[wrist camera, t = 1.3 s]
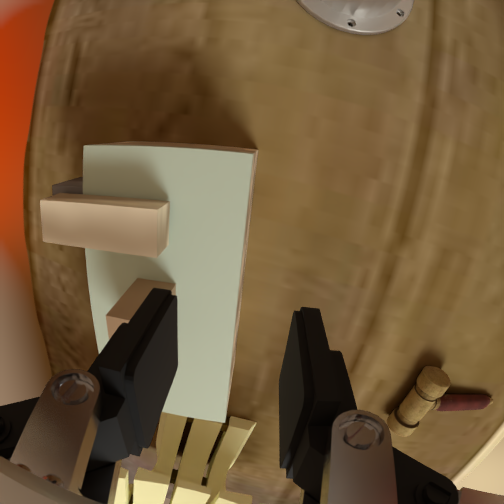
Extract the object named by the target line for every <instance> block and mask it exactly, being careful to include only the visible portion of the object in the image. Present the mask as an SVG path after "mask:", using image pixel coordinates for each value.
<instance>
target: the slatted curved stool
mask: <svg viewBox="0 0 504 504" xmlns="http://www.w3.org/2000/svg"><path fill="white" fill-rule="evenodd" d="M186 421H187V422H190V423H192V426H191V429H190V432H189V435H188V438H187V442H186V445H185V448H184V451H183V455H182V458H181V462H180V465H179V469H178V470H175V469H173V466H174V462H175V459H176V455H177V452H178V448H179V444H180V441H181V437H182V434H183V430H184V427H185V423H186ZM256 423H257V422H254V421H250V420H246V419H241V418H237V417H233V416H231V417H230V419H228V418H226V420H225V423H222V422H215V421H209V420H203V419H197V418H191V417H185V416H180V415H175V414H170V413H165V412H162V413H161V416H160V422H159V427H158V433H157V439H156V450H157V459H158V461H157V463H156V465H155V467H154V468H153V470H152V471H149V470H146V469H143V468H140V467H138V470H137V473H136V475H135V478H134V484H129V483H128V470H126V469H124V468H120V473H119V479H118V484H117V490H116V495H115V501H114V504H163V503H164V500H165V497H166V493H167V490H168V486H169V482H170V483H173V484H174V488H173V492H172V496H171V500H170V504H252V495H246V494H240V493H234V492H229V491H226V487H225V480H226V475H227V472H228V470H229V469H230V467H231V466H232V465H233V464H234V462H235V460H236V459H237V457H238V455H239V453H240V452H241V450H242V448H243V446H244V445H245V443H246V441H247V439H248V438H249V436H250V434H251V432H252V430H253V429H254V427H255V425H256ZM219 431H224V432H223V434H222V437H221V439H220V441H219V443H218V445H217V448H216V450H215V452H214V454H213V456H212V459H211V461H210V464H209V467H208V470H207V474H206V478H205V477H203V474H204V470H205V467H206V464H207V461H208V458H209V456H210V453H211V450H212V448H213V445H214V443H215V441H216V438H217V436H218V433H219ZM260 504H262V503H260Z"/></svg>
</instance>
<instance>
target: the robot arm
mask: <svg viewBox="0 0 504 504" xmlns="http://www.w3.org/2000/svg"><path fill="white" fill-rule="evenodd" d="M297 2H298V3H299V4H300V5H301V6H302V7H303V8H304V9H305V10H306V11H307V12H308V13H309V14H311V15H312V16H313V17H315V18H316V19H317V20H319V21H321V22H323V23H324V24H326V25H328V26H331V27H333V28H335V29H338V30H341V31H345V32H348V33H352V34H361V35H373V34H380V33H384V32H387V31H390V30H392V29H394V28H396V27H397V26H398V25H400V24H401V23H402V22H403V21H404V20H405V19H406V18H407V17H408V16H409V14H410V12H411V10H412V6H413V2H414V0H297ZM348 24H351V25H352V27H351V26H349V25H348ZM177 368H178V300H177V296H176V295H172V291H171V290H167V289H160V288H153V289H152V290H151V291H150V293H149V294H148V296H147V297H146V298H145V300H144V301H143V302H142V304H141V305H140V307H139V308H138V309H137V311H136V312H135V314H134V315H133V317H132V318H131V319H130V321H129V322H128V323H125V322H124V323H122V324H121V325H120V326H119V327H118V328H117V330H116V331H115V333H114V334H113V335H112V337H111V338H110V340H109V341H108V342H107V344H106V345H105V347H104V348H103V349H102V351H101V352H100V354H99V355H98V357H97V358H96V359H95V361H94V362H93V364H92V365H91V367H90V368H89V370H88V371H84V370H80V369H70V370H64V371H62V372H59V373H57V374H56V375H54V376H53V377H51V379H50V380H49V381H48V383H47V384H46V386H45V388H44V390H43V392H42V394H41V396H40V397H36V398H32V399H28V400H24V401H21V402H16V403H12V404H8V405H4V406H0V504H114V501H115V495H116V490H117V484H118V479H119V473H120V468H121V459H124V458H127V457H129V455H130V454H132V455H136V456H140V454H141V451H142V448H149V446H150V443H151V441H152V438H153V435H154V432H155V429H156V427H157V424H158V421H159V418H160V416H161V413H162V410H163V407H164V405H165V402H166V399H167V396H168V394H169V391H170V388H171V385H172V383H173V380H174V377H175V375H176V372H177ZM279 434H280V468H286V478H291V479H293V482H294V483H295V484H297V485H298V486H299V487H301V488H302V489H301V493H300V500H299V504H504V496H502V495H496V494H492V493H487V492H482V491H477V490H473V489H469V488H464V487H463V488H461V489H460V490H457V488H456V486H455V485H454V484H453V482H452V481H451V480H449V479H448V478H447V477H445V476H443V475H442V474H440V473H438V472H436V471H434V470H432V469H431V468H429V467H427V466H425V465H423V464H422V463H420V462H418V461H416V460H415V459H413V458H411V457H409V456H408V455H406V454H404V453H402V452H401V451H399V450H397V449H396V448H394V447H392V440H391V433H390V430H389V427H388V425H387V424H386V423H385V421H384V420H383V419H381V418H380V417H379V416H377V415H375V414H373V413H371V412H368V411H364V410H357V406H356V403H355V399H354V395H353V391H352V388H351V384H350V380H349V377H348V373H347V369H346V366H345V362H344V359H343V355H342V353H341V352H340V351H333V350H330V349H329V345H328V341H327V337H326V333H325V329H324V325H323V321H322V317H321V313H320V310H319V309H318V308H308V307H301V309H300V311H294V312H293V316H292V321H291V326H290V331H289V336H288V341H287V346H286V350H285V355H284V360H283V364H282V369H281V373H280V379H279Z"/></svg>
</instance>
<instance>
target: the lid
mask: <svg viewBox="0 0 504 504" xmlns="http://www.w3.org/2000/svg"><path fill="white" fill-rule="evenodd" d="M253 157H254V153H246V152H237V151H226V150H215V149H202V148H188V147H171V146H148V145H84V151H83V194H85V195H100V196H113V197H126V198H138V199H150V200H161V201H170V215H169V245H168V246H167V247H166V248H165V249H164V250H163V252H162V253H161V254H160V255H159V256H158V257H157V258H153V257H145V256H138V255H131V254H124V253H117V252H110V251H103V250H96V249H89V248H85V254H86V266H87V276H88V285H89V294H90V301H91V309H92V316H93V322H94V328H95V334H96V340H97V345H98V351H99V354H100V352H101V351H102V349H103V348H104V347H105V345H106V344H107V342H108V341H109V340H110V338H111V337H112V335H113V334H114V333H115V331H116V330H117V328H118V327H119V326H120V325H121V324H122V323H124V322H125V323H128V322H129V321H130V319H131V318H132V317H133V315H134V314H135V312H136V311H137V309H138V308H139V307H140V305H141V304H142V302H143V301H144V300H145V298H146V297H147V296H148V294H149V293H150V291H151V290H152V289H153V288H160V289H167V290H171V291H172V295H176V296H177V300H178V368H177V372H176V375H175V377H174V380H173V383H172V385H171V388H170V391H169V394H168V396H167V399H166V402H165V405H164V407H163V410H162V412H165V413H170V414H175V415H180V416H185V417H191V418H197V419H203V420H209V421H215V422H222V423H225V420H226V414H227V403H228V393H229V383H230V373H231V363H232V353H233V343H234V333H235V323H236V314H237V304H238V294H239V285H240V275H241V266H242V256H243V247H244V238H245V229H246V219H247V210H248V201H249V192H250V183H251V174H252V165H253Z"/></svg>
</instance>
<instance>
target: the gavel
mask: <svg viewBox="0 0 504 504" xmlns="http://www.w3.org/2000/svg"><path fill="white" fill-rule="evenodd" d="M450 384H451V382H450V379H449V377H448V375H447V374H446V373H445V372H444V371H443V370H441V369H440V368H438V367H433V366H425V367H424V368H423V370H422V371H421V373H420V374H419V376H418V377H417V383H416V384H415V385H414V387H413V388H412V390H411V391H410V392H409V394H408V395H407V396H406V398H405V399H404V400H403V402H402V403H401V404H400V406H399V408H398V407H396V408H395V409H394V410H393V412H392V413H391V414H390V415H389V417H388V419H387V424H388V426H389V428H390V429H391V430H392V431H393V432H394V433H395V434H397V435H400V436H409V435H410V434H411V433H412V432H413V431H414V430H415V429H416V428H417V427H418V425H419V421H420V420H421V419H422V418H423V416H424V415H425V414H426V413H427V411H428V410H437V411H459V410H477V409H484V408H485V407H487V406H489V405H490V404H492V403H493V399H491V398H490V397H488V396H486V395H484V394H475V395H455V394H444V393H445V392H446V390H447V389H448V387H449V386H450Z"/></svg>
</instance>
